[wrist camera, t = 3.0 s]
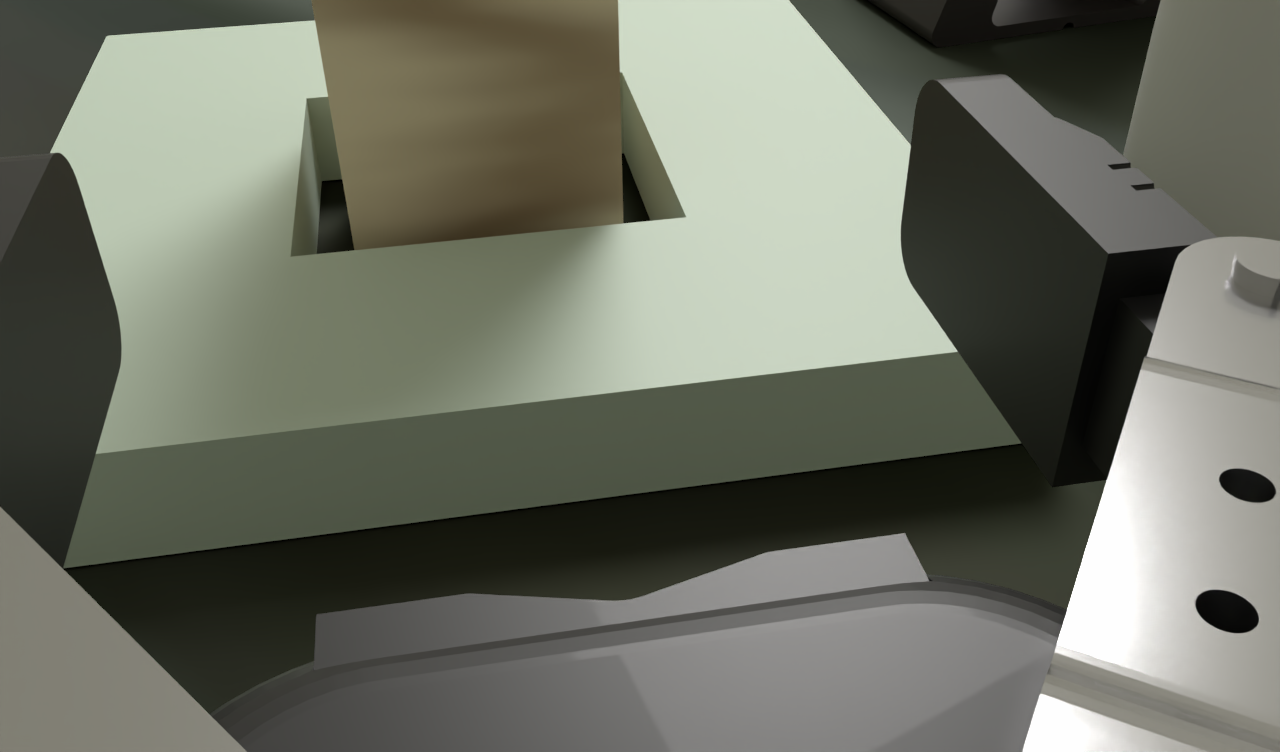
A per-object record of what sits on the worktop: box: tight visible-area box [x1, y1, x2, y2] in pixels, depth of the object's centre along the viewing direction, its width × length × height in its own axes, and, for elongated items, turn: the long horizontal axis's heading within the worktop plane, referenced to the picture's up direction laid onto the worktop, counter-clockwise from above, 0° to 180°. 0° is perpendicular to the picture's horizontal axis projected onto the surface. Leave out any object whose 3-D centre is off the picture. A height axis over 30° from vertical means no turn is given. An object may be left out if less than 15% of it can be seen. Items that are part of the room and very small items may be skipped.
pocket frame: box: [50, 0, 1021, 568], centre depth 25 cm, size 17×17×2 cm
